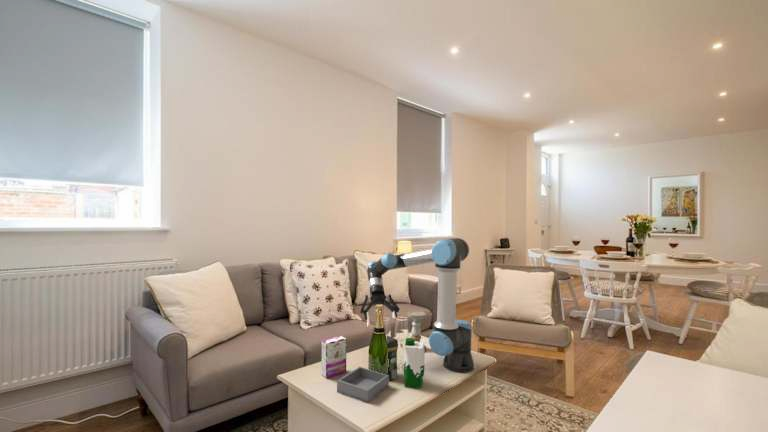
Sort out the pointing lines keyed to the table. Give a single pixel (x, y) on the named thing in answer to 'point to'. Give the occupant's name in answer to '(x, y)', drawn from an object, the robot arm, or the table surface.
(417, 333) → the candle holder
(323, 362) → the candy bar box
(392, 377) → the coffee jar
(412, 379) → the milk carton
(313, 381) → the table surface
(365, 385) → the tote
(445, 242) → the robot arm
